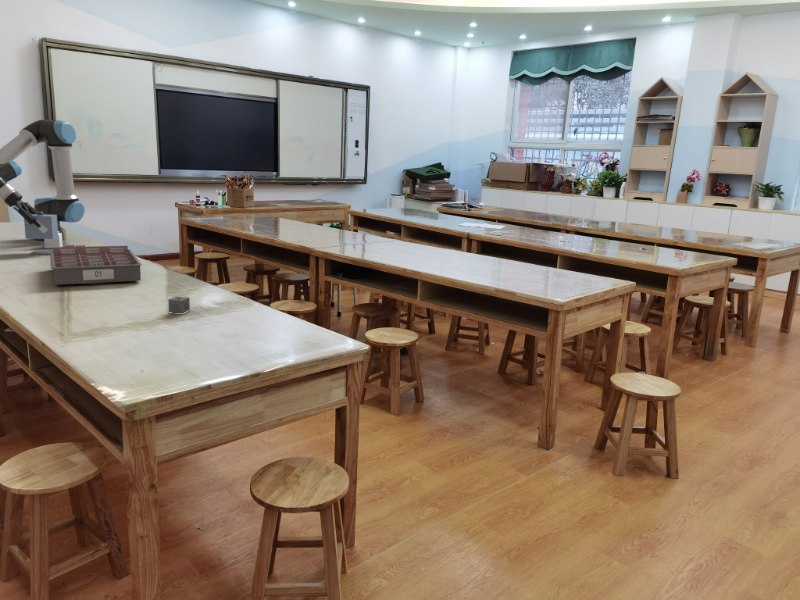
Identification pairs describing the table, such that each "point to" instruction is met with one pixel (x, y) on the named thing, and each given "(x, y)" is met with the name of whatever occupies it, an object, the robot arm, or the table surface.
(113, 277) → the organizer tray
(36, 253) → the mat
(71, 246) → the cube
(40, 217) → the cover
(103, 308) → the table surface
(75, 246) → the cube
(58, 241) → the medicine bottle
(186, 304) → the dice cube
